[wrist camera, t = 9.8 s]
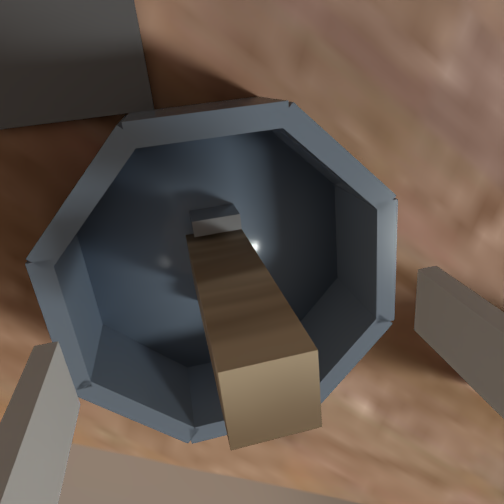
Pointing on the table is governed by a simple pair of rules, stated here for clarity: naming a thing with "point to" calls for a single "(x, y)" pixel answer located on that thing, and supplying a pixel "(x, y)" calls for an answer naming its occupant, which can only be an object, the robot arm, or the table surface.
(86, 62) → the mat
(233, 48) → the table surface
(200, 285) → the long wooden beam
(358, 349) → the bowl
